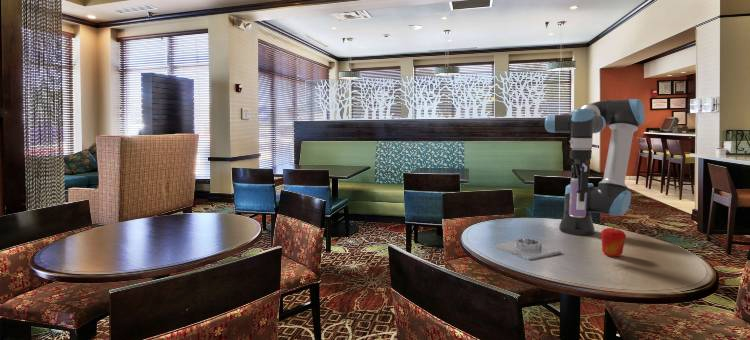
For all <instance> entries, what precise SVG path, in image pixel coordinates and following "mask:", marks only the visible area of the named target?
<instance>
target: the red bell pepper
mask: <svg viewBox="0 0 750 340" xmlns="http://www.w3.org/2000/svg"><path fill="white" fill-rule="evenodd" d="M600 236H601V237H600V240H601V251H602V253H603V254H604V255H605V256H606V257H610V258H617V257H619V256H621V255H622V254H623V252H624V246H625V243H626V238H627V235H626V233H625V232H624V231H623V230H621V229H618V228H615V226H612V227H609V228H608V227H607V228H603V229H602V231H601V232H600Z"/></svg>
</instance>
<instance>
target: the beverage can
mask: <svg viewBox="0 0 750 340" xmlns="http://www.w3.org/2000/svg"><path fill="white" fill-rule="evenodd" d="M570 182H571V183H569V184H570V202H569V215H570V216H572V217H578V218H582V217H585V215H586V201H587V192H586V193H585V210H577V209H576V207H577V193H576V192H577V191H578V178H571V177H570Z"/></svg>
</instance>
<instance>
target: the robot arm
mask: <svg viewBox="0 0 750 340" xmlns="http://www.w3.org/2000/svg"><path fill="white" fill-rule="evenodd" d="M645 119H646V111H645V106H644V103H643V102H642V100H641V99H638V98H634V99H633V98H628V99H627V98H625V99H604V100H598V101H595V102H591V103H588V104H585V105H583V106H582V107H581V108H576V109H573V110H572V111H571V110H570V111H568V112H566V113H561V114H549V115H547V116H546V118H545V120H544V128H545V130H546V131H547V132H548V133H554V134H555V133H556V134H557V133H563V134H564V133H565V134H566V133H567V134H569V133H570V140H569V143H570V145H569V146H570V148H571V149H570V150H569V158H570V159H571V160H574V162H571V164H570V165H571V169H570V170H571V173H570V179H571V178H578V191H577V192H576V193H577V207H576V209H577V210H585V193H586V192H587V201H586V215H585V217H582V218H578V217H572V216H570V215H569V202H570V183H571V181H570V183H569V184H568V185H566V186H565V193H564V205H563V206H564V207H563V210H564V212H563V216H562V218H561V220H560V223H559V231H560V232H562V233H566V234H571V235H577V236H590V235H594V234H595V227H594V223H593V219H592V213H597V214H602V215H603V214H604V215H609V216H619V217H620V216H621V217H622V216H623V215H625V214H626V213H627V211H628V209H630V208H629V207H630V205H631V200H632V193H631V191H630V190H628V188H629V187H628V186H627V185H626V178H627V177H626V176H627V171H628V166H629V160H630V155H631V148H632V142H633V138H634V137H633V136H634V133H635V132H637V131H638V130H639V126H642V125H644V124H645V121H646V120H645ZM606 126H608V127H609V129H610V131H611V135H610V140H609V145H608V152H607V155H606V156H607V157H606V162H605V167H604V173H603V178H602V180H601V181H599V182H598V186H596V187H595V186H594V183H592V182H591V183H589V176H590V175H589V172H590V166H588V164H587V160H589V161H590V160H591V159H592V155H593V154H592V150H591V149H592V148H593V134H598V133H601V132H603V130H604V129H605V128H606Z"/></svg>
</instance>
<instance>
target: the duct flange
mask: <svg viewBox="0 0 750 340" xmlns="http://www.w3.org/2000/svg"><path fill="white" fill-rule="evenodd" d="M494 246H495V248H496V249H499V250H502V251H504V252H507V253H510V254H512V255H515V256H517V257H520V258H522V259H526V260H528V261H530V260H536V259H540V258H545V257H550V256H555V255H561V254H563V250H561V249H558V248H555V247H552V246H549V245H546V244H543V243H542V242H541V240H537V239H534V238H528V237H526V238H525V237H524V238H523V237H522V238H521V237H520V238H516V239H515V240H514V241H507V242H500V243H496V244H495V245H494Z"/></svg>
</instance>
